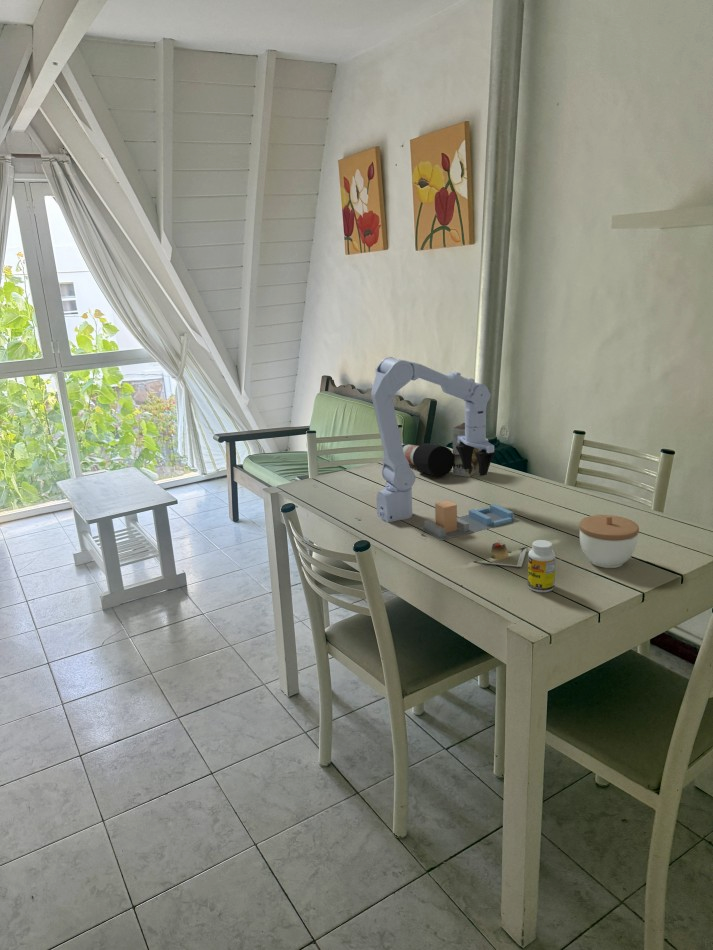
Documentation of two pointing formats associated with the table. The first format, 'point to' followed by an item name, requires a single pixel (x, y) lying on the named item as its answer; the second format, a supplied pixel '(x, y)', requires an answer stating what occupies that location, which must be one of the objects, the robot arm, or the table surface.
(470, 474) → the coffee box
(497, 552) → the dessert
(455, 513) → the tan cardboard block
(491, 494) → the table surface
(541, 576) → the supplement bottle
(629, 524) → the lidded bowl
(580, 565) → the table surface
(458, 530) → the grey fixture plate
